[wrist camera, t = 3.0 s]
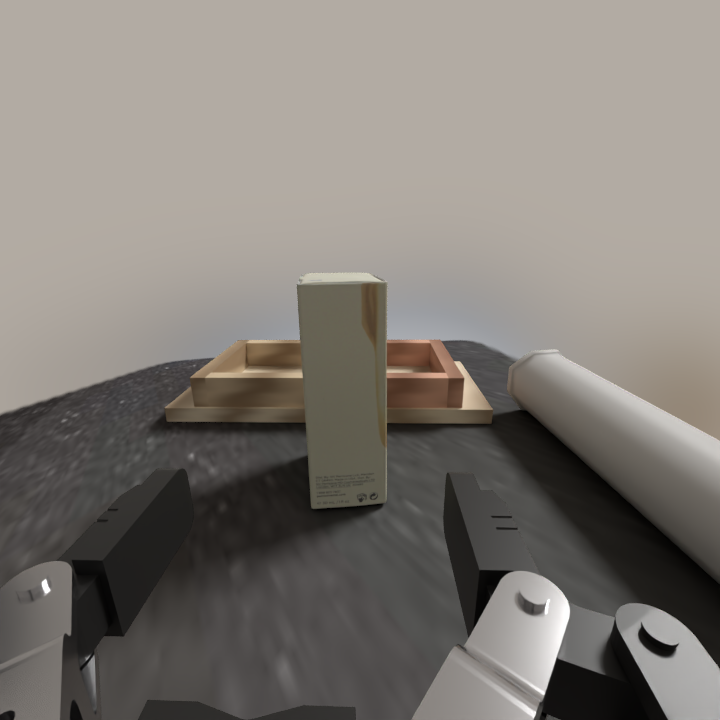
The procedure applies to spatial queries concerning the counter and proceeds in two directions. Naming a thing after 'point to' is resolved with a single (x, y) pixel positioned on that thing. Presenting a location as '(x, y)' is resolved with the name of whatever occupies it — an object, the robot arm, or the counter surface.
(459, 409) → the two-compartment wooden tray
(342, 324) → the skincare box
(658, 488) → the tube
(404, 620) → the counter surface
